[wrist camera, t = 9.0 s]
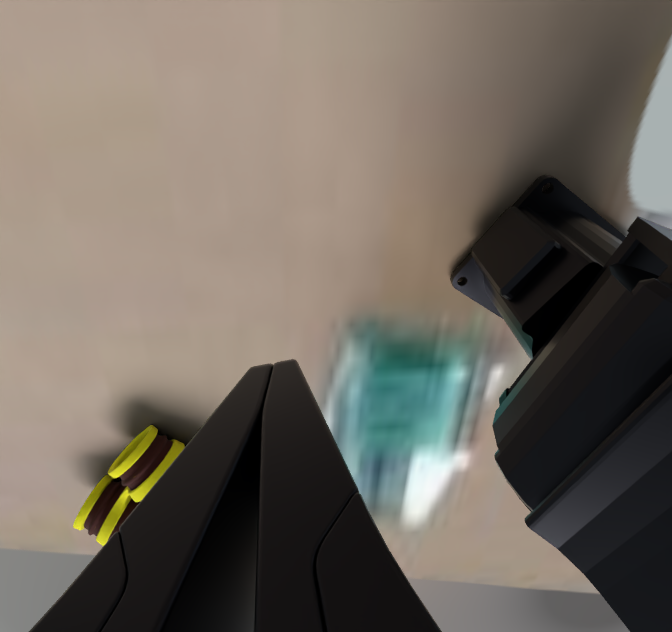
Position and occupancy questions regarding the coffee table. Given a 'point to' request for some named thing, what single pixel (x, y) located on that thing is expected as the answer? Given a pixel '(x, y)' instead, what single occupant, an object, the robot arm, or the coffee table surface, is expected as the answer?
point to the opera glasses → (127, 483)
